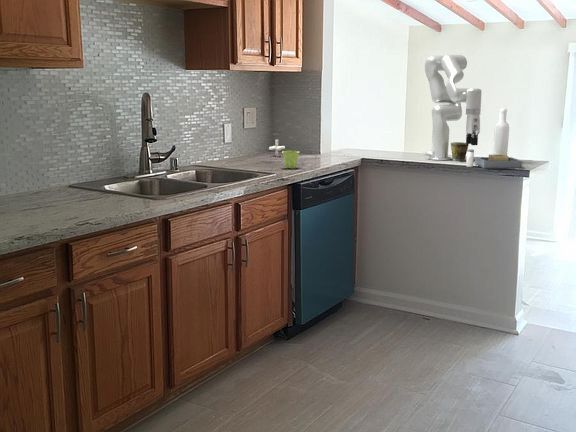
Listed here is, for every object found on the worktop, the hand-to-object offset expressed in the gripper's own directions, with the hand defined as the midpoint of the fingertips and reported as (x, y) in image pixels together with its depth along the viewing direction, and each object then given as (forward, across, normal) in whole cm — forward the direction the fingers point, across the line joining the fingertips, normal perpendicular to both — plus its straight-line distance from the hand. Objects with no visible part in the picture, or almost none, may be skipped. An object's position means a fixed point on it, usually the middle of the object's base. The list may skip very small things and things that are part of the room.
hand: (471, 144), depth 333 cm
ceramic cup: (+11, +24, 0) cm, 27 cm away
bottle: (+12, +18, -22) cm, 31 cm away
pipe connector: (+10, +46, +105) cm, 115 cm away
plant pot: (+11, -4, +97) cm, 98 cm away
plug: (+12, +1, 0) cm, 12 cm away
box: (+12, 0, -15) cm, 19 cm away
